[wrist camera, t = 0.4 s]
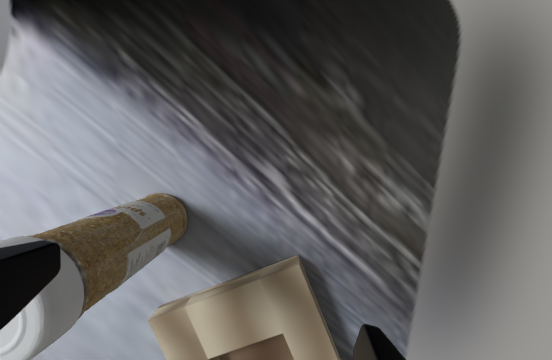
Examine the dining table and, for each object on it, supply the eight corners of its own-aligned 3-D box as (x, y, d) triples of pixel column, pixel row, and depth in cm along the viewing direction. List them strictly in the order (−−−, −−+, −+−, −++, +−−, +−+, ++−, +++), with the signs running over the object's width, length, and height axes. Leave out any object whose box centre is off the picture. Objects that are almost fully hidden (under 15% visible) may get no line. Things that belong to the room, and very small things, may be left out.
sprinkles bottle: (172, 182, 22) (-4, 229, 9) (199, 230, 23) (69, 344, 9) (126, 207, 23) (-106, 288, 9) (153, 254, 23) (-34, 395, 10)
